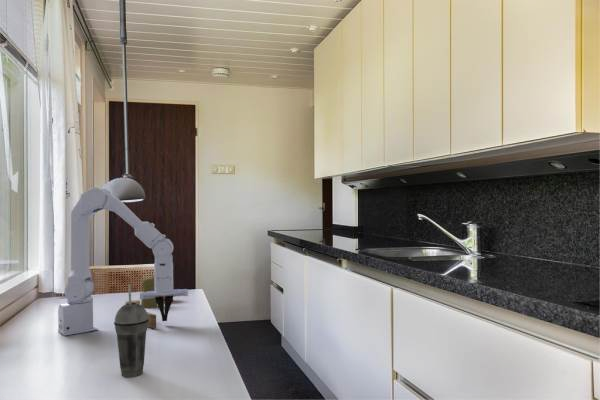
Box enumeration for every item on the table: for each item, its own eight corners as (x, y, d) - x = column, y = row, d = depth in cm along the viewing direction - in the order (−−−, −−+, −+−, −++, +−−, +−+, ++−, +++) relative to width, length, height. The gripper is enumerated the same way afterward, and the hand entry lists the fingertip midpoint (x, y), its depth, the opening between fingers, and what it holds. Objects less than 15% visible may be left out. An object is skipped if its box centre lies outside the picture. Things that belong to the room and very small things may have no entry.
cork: (159, 305, 182) (159, 276, 182) (153, 308, 176) (152, 278, 176) (144, 305, 183) (144, 276, 183) (137, 308, 177) (137, 278, 177)
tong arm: (133, 321, 154) (133, 309, 154) (136, 320, 155) (136, 308, 155) (153, 328, 144) (153, 315, 144) (156, 328, 144) (156, 314, 144)
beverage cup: (153, 367, 108) (152, 280, 109) (144, 379, 101) (142, 285, 101) (121, 368, 108) (120, 281, 108) (109, 380, 101) (108, 286, 101)
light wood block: (126, 320, 156) (125, 301, 156) (140, 318, 157) (140, 299, 158) (125, 321, 154) (125, 302, 154) (140, 320, 156) (140, 300, 156)
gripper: (139, 280, 143) (140, 325, 143) (188, 277, 147) (189, 321, 147) (139, 277, 150) (140, 320, 149) (186, 274, 154) (187, 316, 154)
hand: (164, 320), depth 149 cm, fingers closed
